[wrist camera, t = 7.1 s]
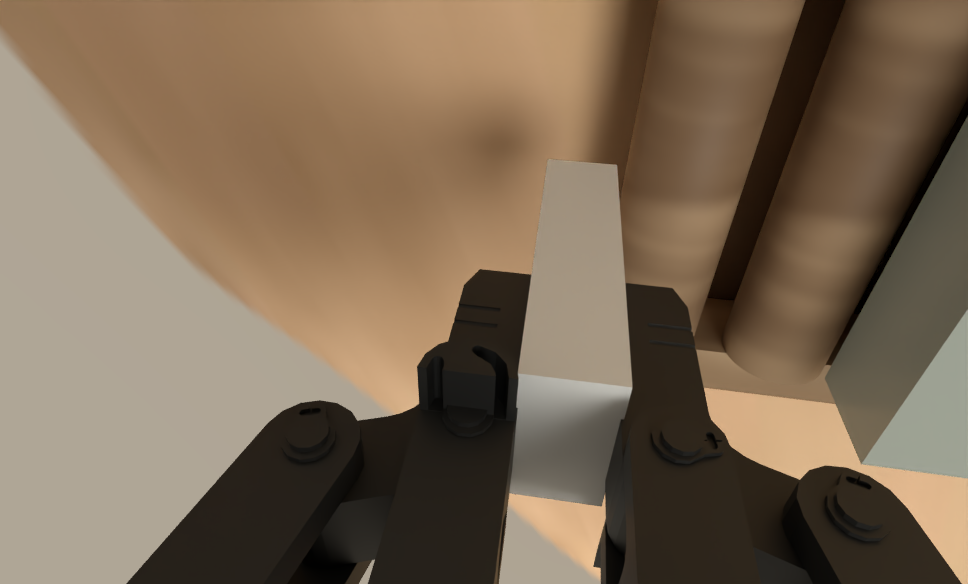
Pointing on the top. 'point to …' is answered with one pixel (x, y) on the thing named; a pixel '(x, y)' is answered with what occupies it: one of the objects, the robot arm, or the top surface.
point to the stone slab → (915, 340)
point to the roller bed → (784, 172)
